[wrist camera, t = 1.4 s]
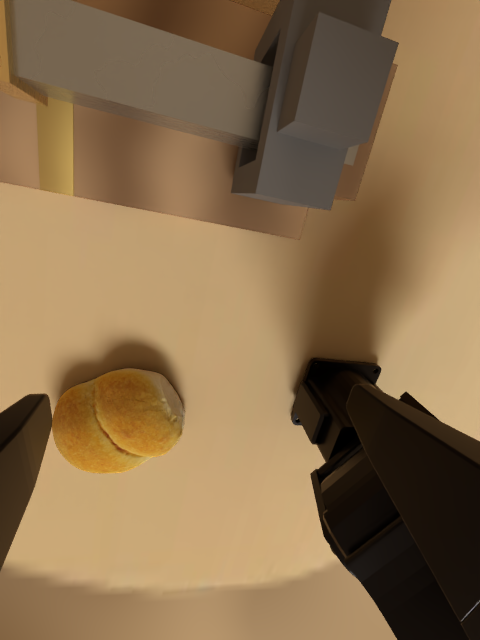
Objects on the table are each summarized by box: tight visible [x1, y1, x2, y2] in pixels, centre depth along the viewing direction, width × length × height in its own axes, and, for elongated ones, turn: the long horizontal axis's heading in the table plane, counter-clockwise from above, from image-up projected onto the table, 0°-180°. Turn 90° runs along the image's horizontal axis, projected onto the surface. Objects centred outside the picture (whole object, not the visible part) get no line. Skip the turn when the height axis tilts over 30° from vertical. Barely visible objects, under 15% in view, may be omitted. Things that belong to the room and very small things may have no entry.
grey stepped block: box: [231, 0, 399, 210], centre depth 12 cm, size 3×6×8 cm, turn 168°
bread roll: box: [52, 368, 185, 473], centre depth 21 cm, size 8×9×4 cm
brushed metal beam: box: [0, 0, 359, 166], centre depth 11 cm, size 19×3×3 cm, turn 78°
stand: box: [0, 0, 398, 240], centre depth 13 cm, size 20×10×6 cm, turn 78°
